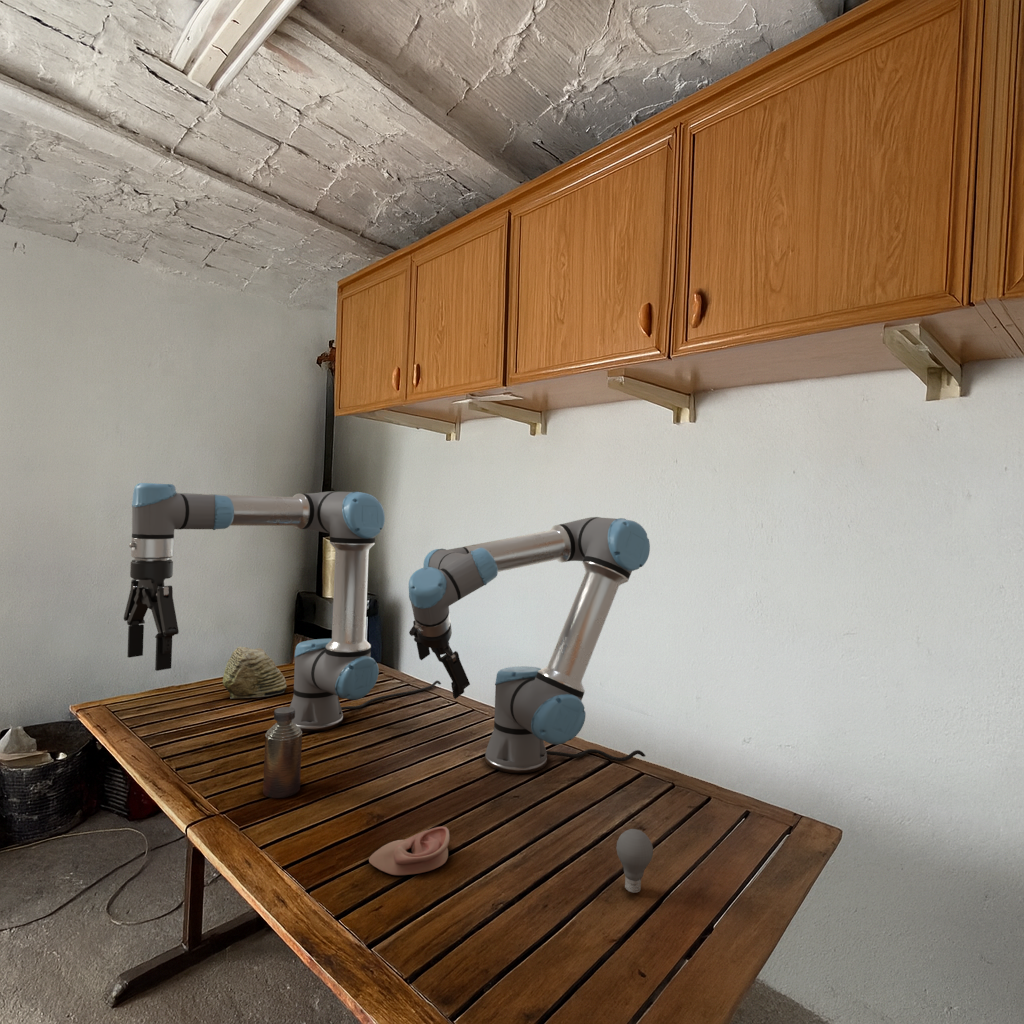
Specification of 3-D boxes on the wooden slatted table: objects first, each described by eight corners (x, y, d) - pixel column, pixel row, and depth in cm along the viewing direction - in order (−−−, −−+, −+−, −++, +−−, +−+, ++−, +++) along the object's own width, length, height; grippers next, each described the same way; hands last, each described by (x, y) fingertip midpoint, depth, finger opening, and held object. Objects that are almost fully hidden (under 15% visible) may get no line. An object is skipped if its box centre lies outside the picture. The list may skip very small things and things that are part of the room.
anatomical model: (361, 846, 108) (388, 814, 119) (360, 870, 108) (387, 835, 119) (436, 859, 105) (456, 825, 117) (435, 882, 105) (455, 846, 117)
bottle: (289, 779, 141) (292, 703, 141) (306, 790, 136) (309, 712, 136) (256, 789, 136) (259, 711, 135) (273, 801, 131) (276, 720, 130)
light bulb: (610, 879, 108) (613, 822, 108) (644, 879, 109) (647, 822, 109) (619, 902, 102) (622, 840, 102) (655, 901, 103) (658, 840, 103)
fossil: (218, 695, 195) (220, 647, 195) (278, 685, 208) (279, 640, 207) (228, 703, 189) (230, 653, 188) (289, 692, 201) (290, 645, 201)
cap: (288, 713, 139) (289, 705, 139) (298, 718, 136) (298, 710, 136) (270, 717, 136) (270, 709, 136) (280, 723, 133) (280, 714, 133)
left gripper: (108, 554, 134) (104, 654, 134) (159, 565, 118) (155, 678, 119) (146, 552, 140) (143, 648, 140) (199, 563, 124) (195, 671, 124)
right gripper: (386, 598, 141) (399, 649, 156) (454, 673, 128) (461, 721, 143) (414, 580, 145) (423, 632, 160) (483, 651, 131) (486, 701, 147)
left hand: (148, 662), depth 129 cm, fingers open, 13 cm apart
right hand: (441, 675), depth 151 cm, fingers open, 13 cm apart
